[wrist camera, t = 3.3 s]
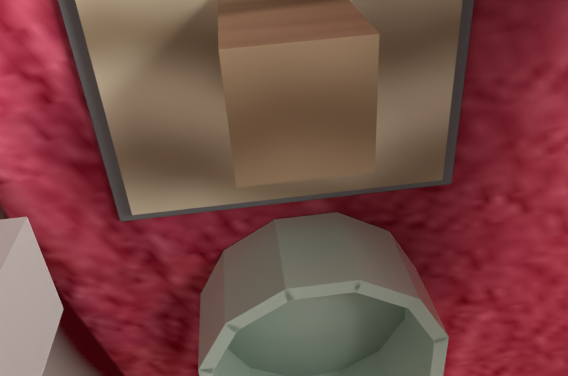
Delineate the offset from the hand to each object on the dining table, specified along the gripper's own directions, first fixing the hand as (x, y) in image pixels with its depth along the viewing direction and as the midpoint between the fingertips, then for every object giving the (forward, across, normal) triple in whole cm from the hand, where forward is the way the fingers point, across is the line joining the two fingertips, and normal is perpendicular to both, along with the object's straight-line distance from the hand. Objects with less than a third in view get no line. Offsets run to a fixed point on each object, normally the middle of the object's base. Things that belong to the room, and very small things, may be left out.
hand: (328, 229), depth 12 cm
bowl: (+16, +1, -18) cm, 24 cm away
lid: (+15, 0, 0) cm, 15 cm away
